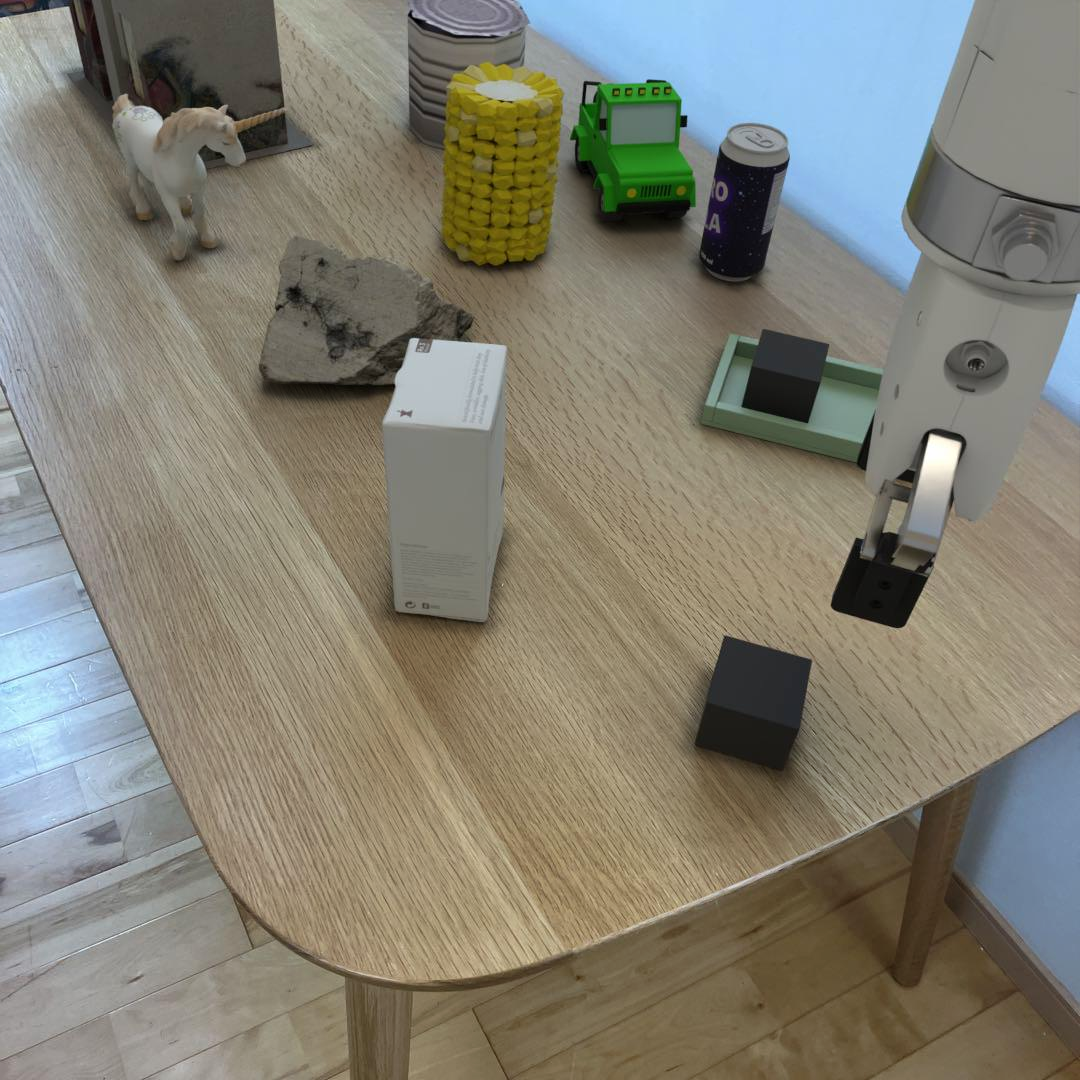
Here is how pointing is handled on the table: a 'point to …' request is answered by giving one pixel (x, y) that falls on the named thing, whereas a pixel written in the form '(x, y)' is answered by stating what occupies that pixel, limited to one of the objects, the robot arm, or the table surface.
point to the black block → (785, 375)
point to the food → (500, 162)
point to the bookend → (187, 63)
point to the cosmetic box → (446, 476)
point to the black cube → (754, 703)
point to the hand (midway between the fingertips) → (877, 539)
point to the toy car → (635, 149)
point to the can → (456, 52)
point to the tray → (833, 417)
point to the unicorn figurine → (177, 158)
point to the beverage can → (744, 201)
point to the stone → (350, 317)
